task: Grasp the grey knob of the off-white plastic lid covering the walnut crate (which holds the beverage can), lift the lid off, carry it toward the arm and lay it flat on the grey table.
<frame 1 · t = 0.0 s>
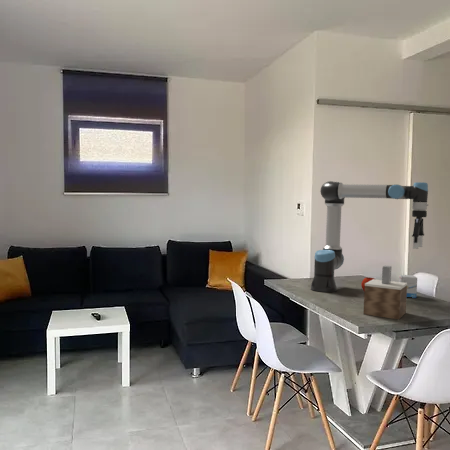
hand: (417, 247, 264), 28 cm above the table, fingers open, 13 cm apart
ink box: (407, 296, 267), on the table
beverage can: (384, 313, 223), resting in crate
crate: (384, 313, 223), on the table
apple: (368, 296, 265), on the table
lid: (386, 285, 223), point 13 cm above the table, touching crate
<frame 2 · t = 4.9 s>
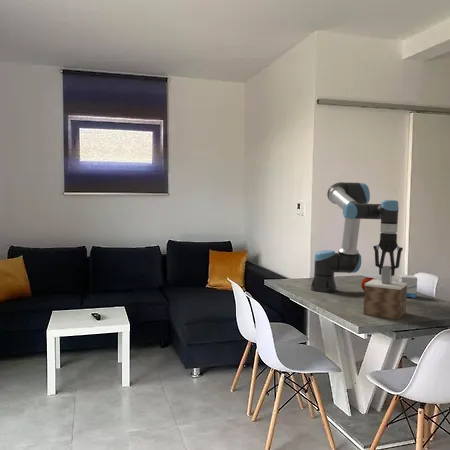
hand: (386, 282, 223), 15 cm above the table, fingers closed on lid, 3 cm apart
lid: (386, 285, 223), point 13 cm above the table, touching crate, gripper
everything else where it was.
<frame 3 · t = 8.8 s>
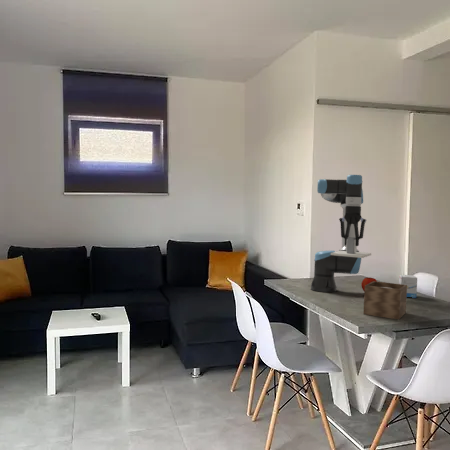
hand: (351, 252, 237), 27 cm above the table, fingers closed on lid, 3 cm apart
lid: (351, 255, 237), point 26 cm above the table, touching gripper
everything else where it was.
when the fingers open (5 cm above the table, at t = 13.0 s): lid drops 4 cm, on the table.
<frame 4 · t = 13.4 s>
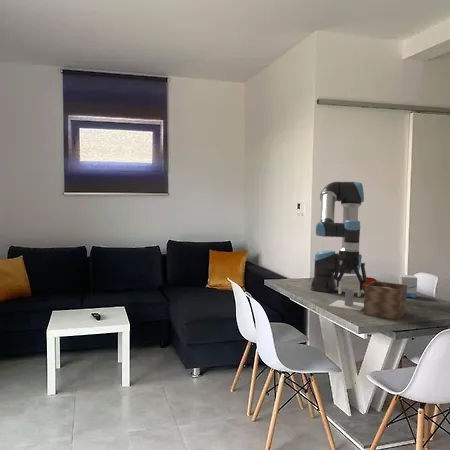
hand: (349, 294, 238), 6 cm above the table, fingers open, 9 cm apart
lid: (348, 306, 238), on the table
everything else where it was.
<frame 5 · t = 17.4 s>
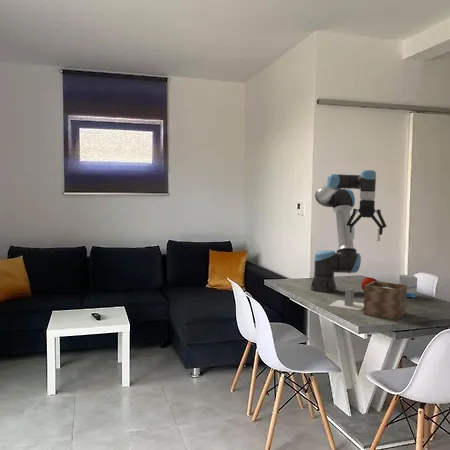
hand: (365, 240, 248), 33 cm above the table, fingers open, 13 cm apart
nothing on the table moved.
at the end: lid inside the target area (0.0 cm from its centre), on the table; lid tilted 0°; lid touching table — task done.
